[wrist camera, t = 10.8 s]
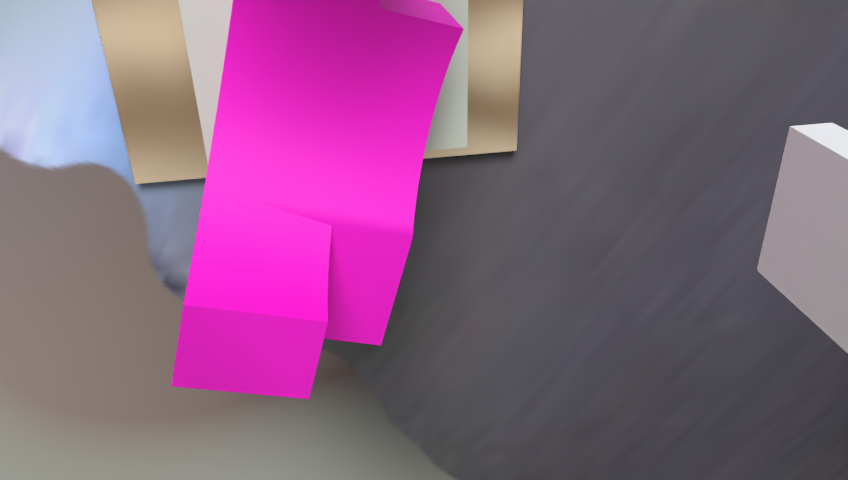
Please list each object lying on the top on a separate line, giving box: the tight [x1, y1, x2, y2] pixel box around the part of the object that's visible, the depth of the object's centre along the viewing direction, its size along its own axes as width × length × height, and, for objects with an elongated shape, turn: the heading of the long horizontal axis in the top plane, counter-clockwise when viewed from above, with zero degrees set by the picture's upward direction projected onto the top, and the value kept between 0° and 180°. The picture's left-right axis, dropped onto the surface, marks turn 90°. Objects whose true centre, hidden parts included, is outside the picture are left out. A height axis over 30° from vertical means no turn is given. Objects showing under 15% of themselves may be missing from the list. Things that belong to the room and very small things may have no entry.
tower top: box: [178, 0, 468, 162], centre depth 26 cm, size 9×9×6 cm
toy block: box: [172, 0, 464, 399], centre depth 21 cm, size 15×6×8 cm, turn 165°
